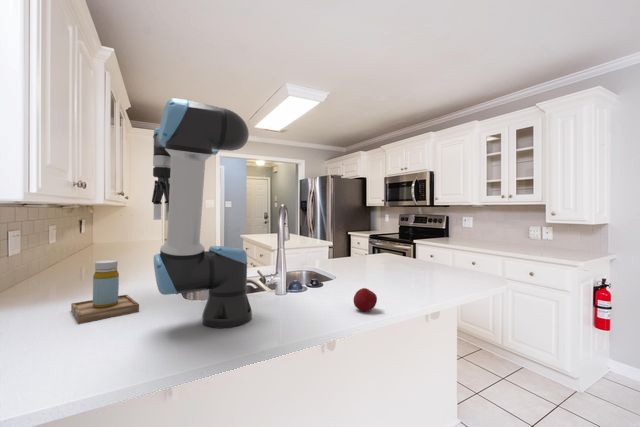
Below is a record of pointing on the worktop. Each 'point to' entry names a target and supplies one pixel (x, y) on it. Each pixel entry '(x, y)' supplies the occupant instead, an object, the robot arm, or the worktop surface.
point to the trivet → (103, 309)
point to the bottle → (105, 284)
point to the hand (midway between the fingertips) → (162, 220)
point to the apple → (365, 300)
